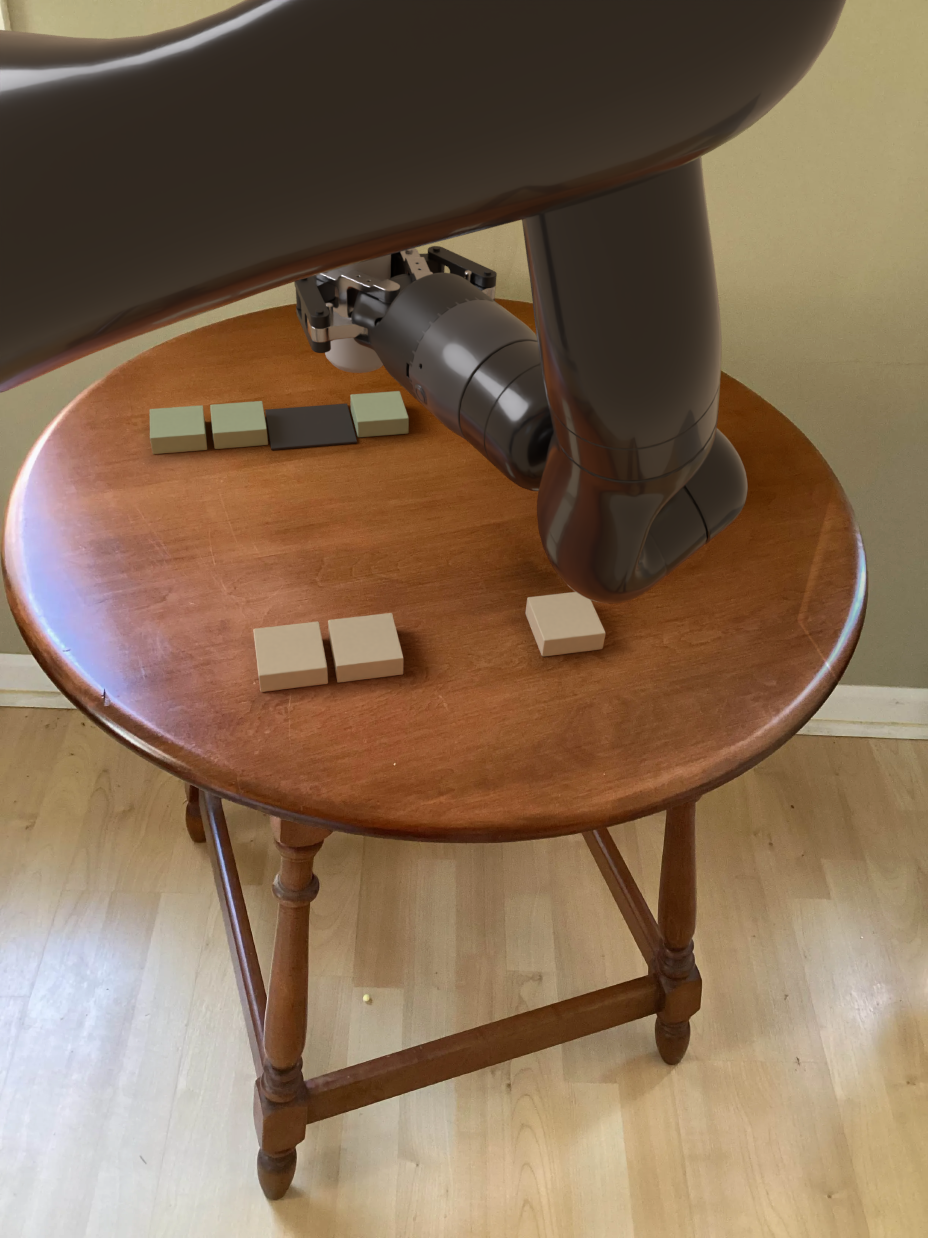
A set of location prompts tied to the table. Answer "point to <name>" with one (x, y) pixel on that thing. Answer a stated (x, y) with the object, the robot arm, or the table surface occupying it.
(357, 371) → the beverage can
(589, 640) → the near word
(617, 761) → the table surface
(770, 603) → the table surface
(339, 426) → the far word
